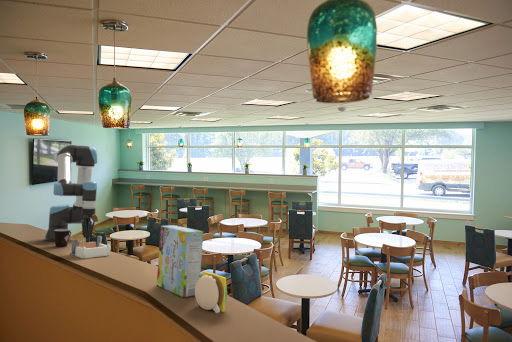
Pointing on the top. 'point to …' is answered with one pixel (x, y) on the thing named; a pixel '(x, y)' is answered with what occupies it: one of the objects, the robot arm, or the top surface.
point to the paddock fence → (93, 250)
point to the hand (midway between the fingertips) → (86, 248)
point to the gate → (82, 245)
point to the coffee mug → (61, 237)
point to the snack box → (179, 259)
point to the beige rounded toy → (211, 292)
